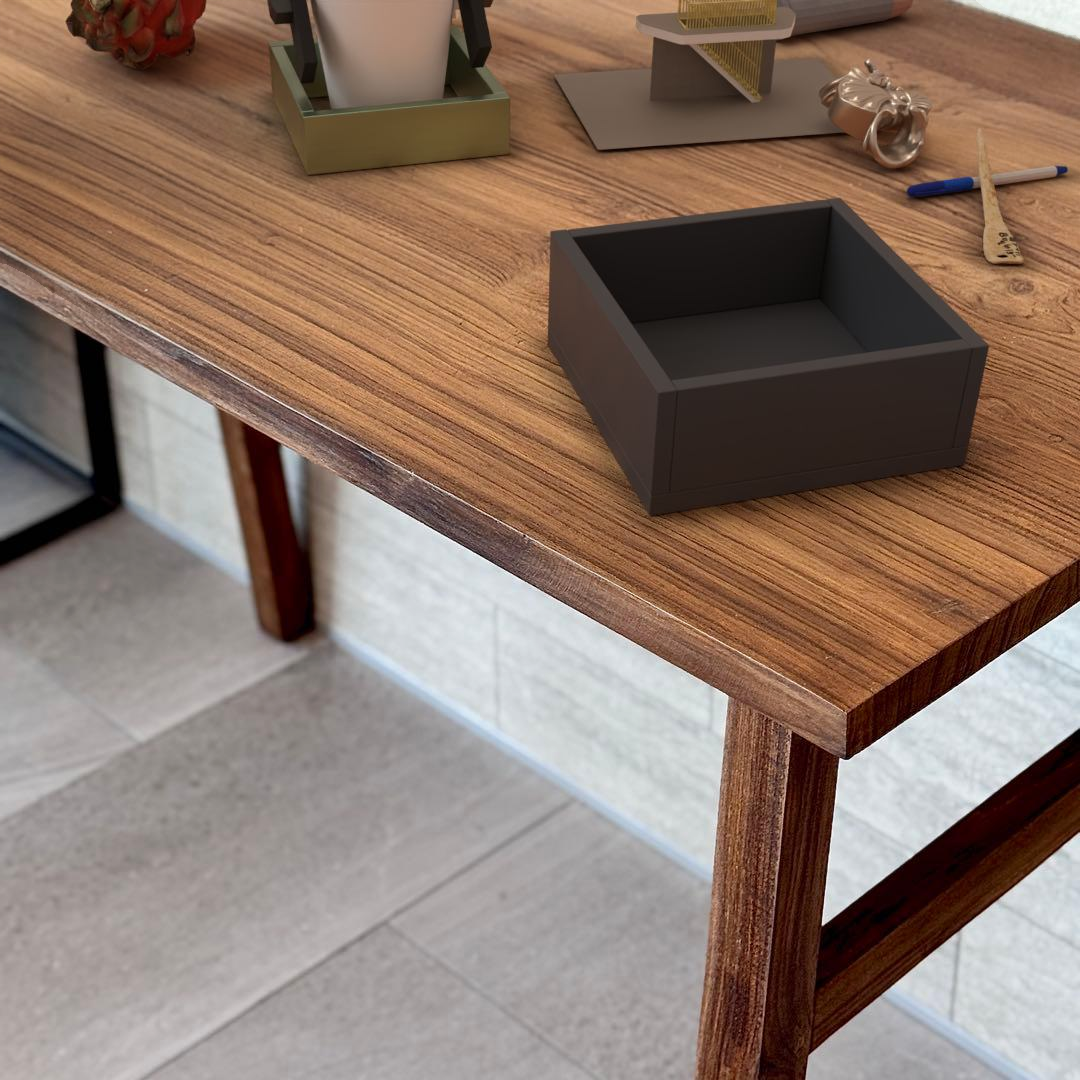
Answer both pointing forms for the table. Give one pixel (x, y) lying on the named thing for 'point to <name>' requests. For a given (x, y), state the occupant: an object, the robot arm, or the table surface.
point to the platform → (705, 81)
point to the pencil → (841, 13)
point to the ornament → (878, 113)
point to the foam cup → (383, 49)
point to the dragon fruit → (136, 28)
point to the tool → (994, 215)
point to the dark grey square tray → (759, 353)
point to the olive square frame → (392, 118)
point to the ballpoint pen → (974, 182)
